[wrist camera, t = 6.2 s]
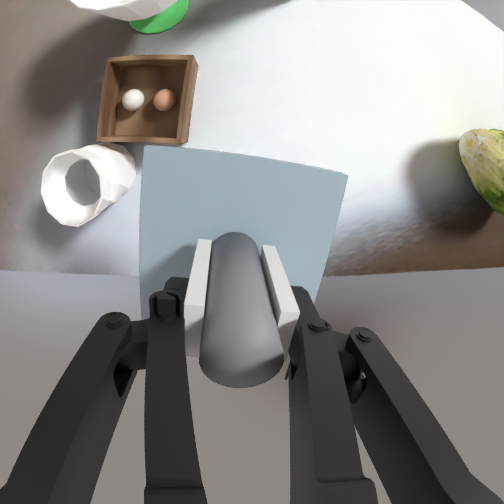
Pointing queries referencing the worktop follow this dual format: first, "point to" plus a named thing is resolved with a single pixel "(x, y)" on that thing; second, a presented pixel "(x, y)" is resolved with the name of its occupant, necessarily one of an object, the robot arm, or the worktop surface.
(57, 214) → the white vase
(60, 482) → the robot arm
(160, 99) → the ball
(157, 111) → the box
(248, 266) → the lid
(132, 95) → the ball
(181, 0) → the cup
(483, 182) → the lettuce
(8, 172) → the worktop surface
